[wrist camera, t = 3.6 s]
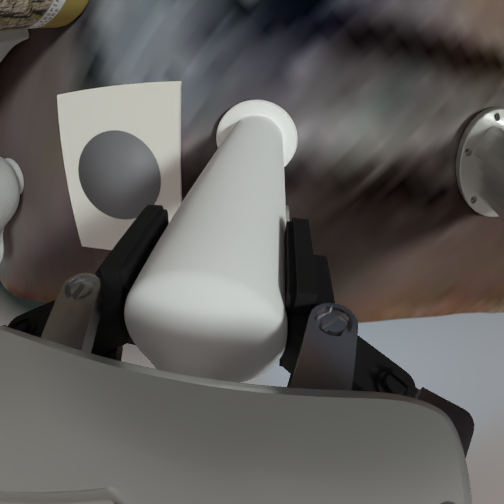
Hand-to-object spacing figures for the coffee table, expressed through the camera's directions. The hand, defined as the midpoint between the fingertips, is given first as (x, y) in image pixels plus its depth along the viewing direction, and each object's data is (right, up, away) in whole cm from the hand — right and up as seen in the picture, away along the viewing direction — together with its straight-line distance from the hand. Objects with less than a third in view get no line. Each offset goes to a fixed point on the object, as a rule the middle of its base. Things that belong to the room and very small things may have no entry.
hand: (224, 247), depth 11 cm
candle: (+1, +10, +14) cm, 18 cm away
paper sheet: (-13, +8, +17) cm, 23 cm away
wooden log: (-17, +25, +6) cm, 31 cm away
